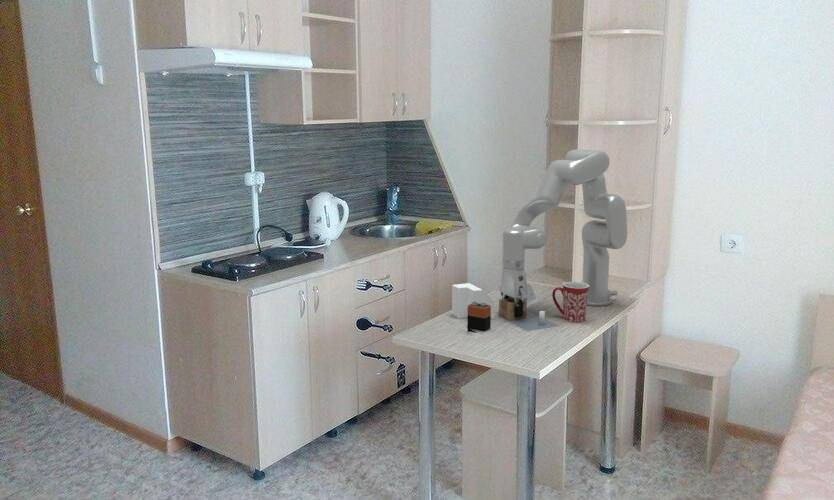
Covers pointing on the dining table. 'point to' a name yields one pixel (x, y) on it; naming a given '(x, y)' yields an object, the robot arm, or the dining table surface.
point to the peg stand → (532, 322)
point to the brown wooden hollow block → (510, 309)
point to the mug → (573, 301)
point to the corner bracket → (468, 299)
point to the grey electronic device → (530, 297)
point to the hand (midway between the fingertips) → (512, 313)
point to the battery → (479, 317)
